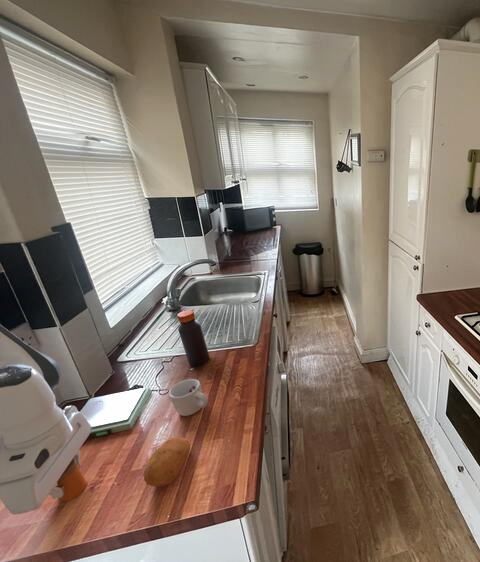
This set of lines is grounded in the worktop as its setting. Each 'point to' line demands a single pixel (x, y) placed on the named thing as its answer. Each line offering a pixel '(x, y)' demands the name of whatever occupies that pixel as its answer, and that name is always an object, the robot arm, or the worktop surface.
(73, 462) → the spice jar
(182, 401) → the cup
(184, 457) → the potato
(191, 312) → the bottle
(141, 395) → the scale
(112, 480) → the worktop surface
